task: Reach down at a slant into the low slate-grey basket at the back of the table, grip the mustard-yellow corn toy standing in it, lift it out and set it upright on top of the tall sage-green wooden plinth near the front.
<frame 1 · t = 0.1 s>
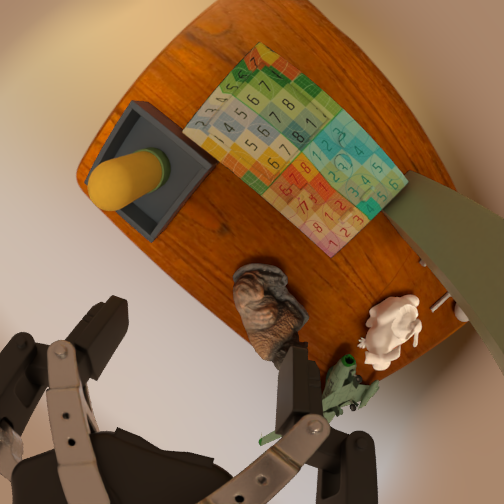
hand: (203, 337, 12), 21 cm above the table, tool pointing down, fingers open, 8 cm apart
plinth: (406, 204, 29), on the table
rabbit figurine: (377, 313, 36), on the table
corn toy: (151, 168, 29), point 1 cm above the table, touching basket
airplane: (332, 429, 39), point 7 cm above the table
puzzle game: (298, 147, 28), on the table
cat statue: (273, 292, 36), on the table
figurine: (429, 268, 29), point 3 cm above the table
basket: (154, 167, 30), on the table
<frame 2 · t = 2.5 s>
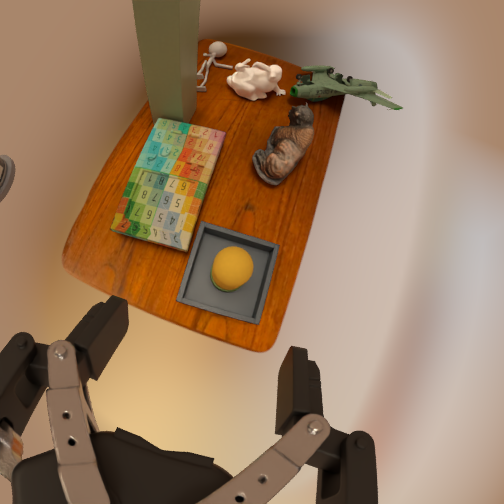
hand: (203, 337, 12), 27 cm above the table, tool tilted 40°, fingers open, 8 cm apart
plinth: (175, 116, 44), on the table
rabbit figurine: (253, 95, 48), on the table
corn toy: (227, 274, 40), point 1 cm above the table, touching basket
airplane: (354, 71, 45), point 7 cm above the table
puzzle game: (172, 186, 42), on the table
cat statue: (277, 159, 46), on the table
figurine: (203, 82, 43), point 3 cm above the table
basket: (227, 275, 40), on the table
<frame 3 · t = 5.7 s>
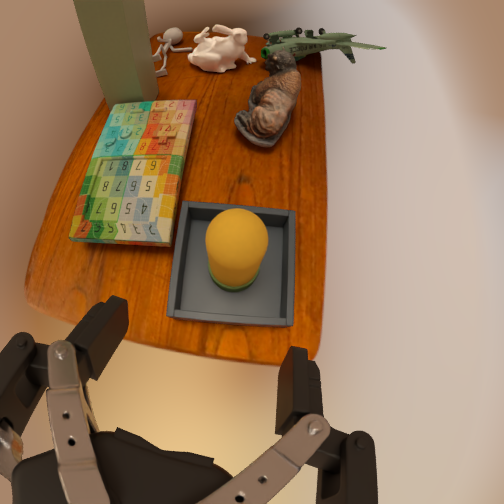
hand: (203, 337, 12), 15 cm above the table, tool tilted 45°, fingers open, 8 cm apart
plinth: (136, 104, 35), on the table
rabbit figurine: (221, 68, 39), on the table
corn toy: (233, 268, 28), point 1 cm above the table, touching basket
airplane: (324, 25, 37), point 7 cm above the table
puzzle game: (142, 176, 32), on the table
cat statue: (264, 122, 36), on the table
figurine: (161, 64, 35), point 3 cm above the table
basket: (233, 270, 29), on the table
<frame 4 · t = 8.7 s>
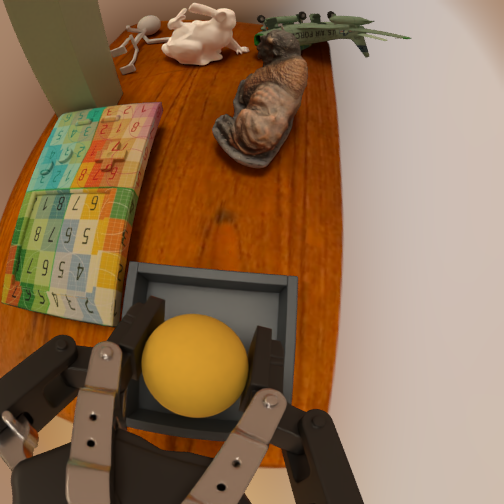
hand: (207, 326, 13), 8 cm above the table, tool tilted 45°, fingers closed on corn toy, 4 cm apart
plinth: (94, 111, 26), on the table
rabbit figurine: (204, 60, 30), on the table
corn toy: (207, 354, 19), point 1 cm above the table, touching basket, gripper
airplane: (333, 9, 28), point 7 cm above the table
puzzle game: (90, 211, 22), on the table
cat statue: (256, 131, 27), on the table
figurine: (127, 58, 26), point 3 cm above the table
basket: (207, 353, 20), on the table
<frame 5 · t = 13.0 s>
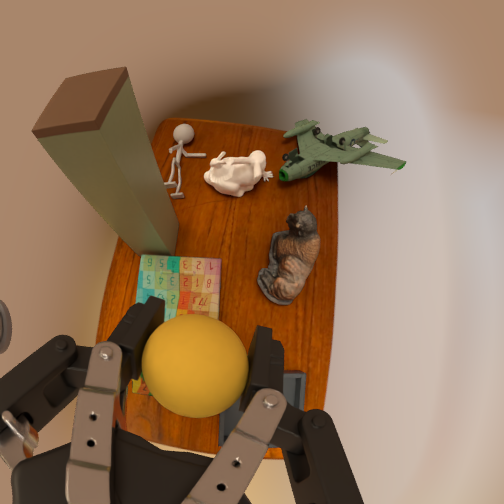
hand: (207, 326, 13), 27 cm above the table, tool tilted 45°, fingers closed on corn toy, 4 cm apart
plinth: (158, 239, 43), on the table
rabbit figurine: (239, 188, 47), on the table
corn toy: (207, 354, 19), point 21 cm above the table, touching gripper
airplane: (344, 127, 44), point 7 cm above the table
puzzle game: (179, 328, 39), on the table
cat statue: (282, 267, 43), on the table
figurine: (178, 190, 42), point 3 cm above the table
basket: (259, 405, 36), on the table
when the fingers open (37 cm above the table, at t = 17.6 s): corn toy stays where it is, resting on plinth.
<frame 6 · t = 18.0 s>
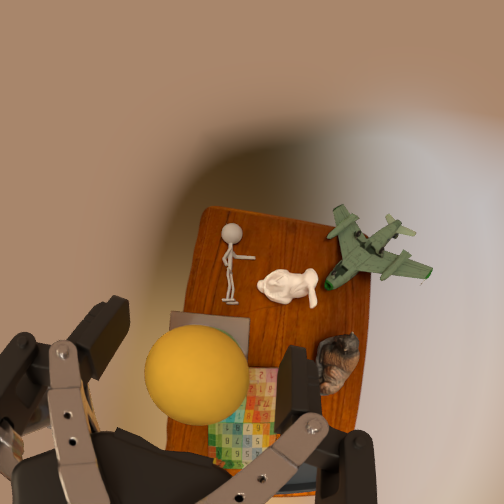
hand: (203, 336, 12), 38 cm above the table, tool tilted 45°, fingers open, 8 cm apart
plinth: (218, 344, 48), on the table
rabbit figurine: (287, 293, 52), on the table
corn toy: (208, 360, 19), point 30 cm above the table, touching plinth
airplane: (384, 232, 49), point 7 cm above the table
puzzle game: (241, 416, 44), on the table
cat statue: (323, 363, 48), on the table
figurine: (235, 303, 47), point 3 cm above the table
basket: (302, 462, 41), on the table
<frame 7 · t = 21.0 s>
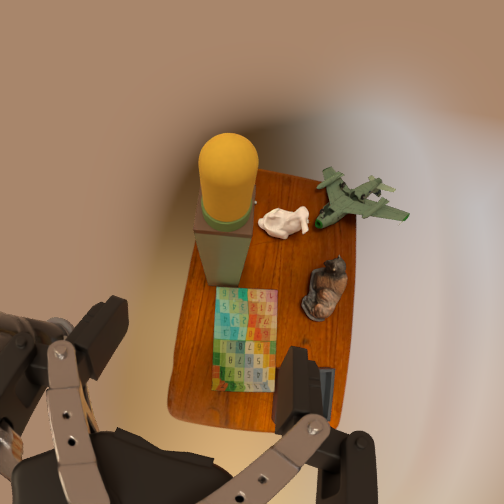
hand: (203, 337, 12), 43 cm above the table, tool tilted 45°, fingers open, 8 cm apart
plinth: (224, 272, 57), on the table
rabbit figurine: (283, 231, 61), on the table
corn toy: (226, 209, 28), point 30 cm above the table, touching plinth
airplane: (364, 183, 59), point 7 cm above the table
puzzle game: (243, 340, 53), on the table
cat statue: (317, 294, 58), on the table
basket: (300, 393, 51), on the table
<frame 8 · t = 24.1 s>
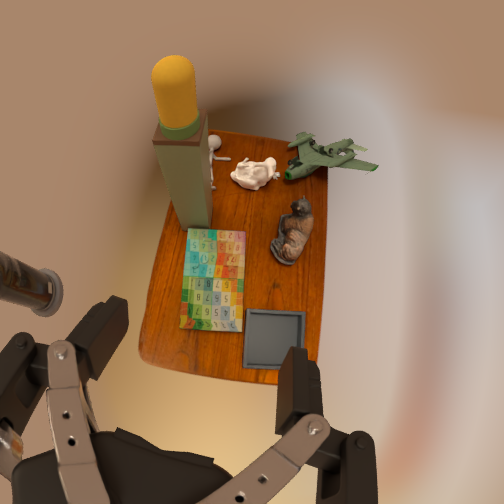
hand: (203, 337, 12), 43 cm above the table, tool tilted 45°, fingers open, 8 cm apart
plinth: (197, 219, 60), on the table
rabbit figurine: (255, 184, 64), on the table
corn toy: (180, 126, 31), point 30 cm above the table, touching plinth
airplane: (333, 139, 62), point 7 cm above the table
puzzle game: (214, 282, 56), on the table
cat statue: (287, 240, 61), on the table
figurine: (213, 184, 60), point 3 cm above the table
basket: (271, 339, 54), on the table
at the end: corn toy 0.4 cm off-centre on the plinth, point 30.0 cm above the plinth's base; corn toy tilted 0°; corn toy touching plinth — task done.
